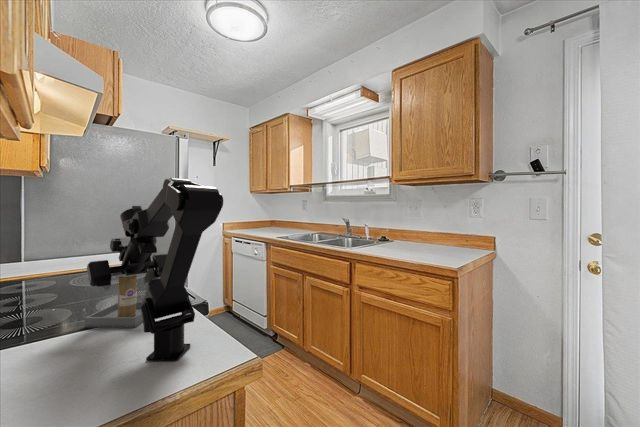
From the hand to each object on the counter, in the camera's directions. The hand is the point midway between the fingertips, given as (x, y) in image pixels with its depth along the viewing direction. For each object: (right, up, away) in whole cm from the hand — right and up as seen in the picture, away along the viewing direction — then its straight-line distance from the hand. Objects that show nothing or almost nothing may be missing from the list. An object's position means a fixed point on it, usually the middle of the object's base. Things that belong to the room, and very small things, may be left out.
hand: (126, 286), depth 80 cm
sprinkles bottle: (0, -9, 0) cm, 9 cm away
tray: (0, -9, 0) cm, 9 cm away
